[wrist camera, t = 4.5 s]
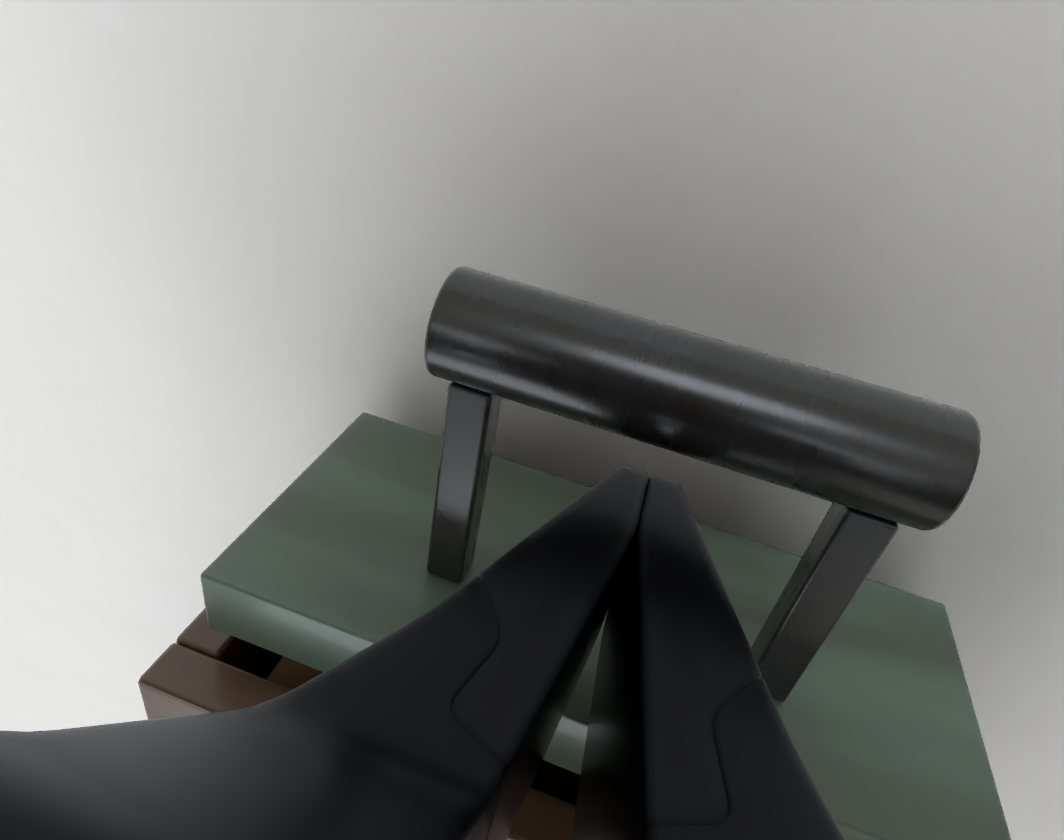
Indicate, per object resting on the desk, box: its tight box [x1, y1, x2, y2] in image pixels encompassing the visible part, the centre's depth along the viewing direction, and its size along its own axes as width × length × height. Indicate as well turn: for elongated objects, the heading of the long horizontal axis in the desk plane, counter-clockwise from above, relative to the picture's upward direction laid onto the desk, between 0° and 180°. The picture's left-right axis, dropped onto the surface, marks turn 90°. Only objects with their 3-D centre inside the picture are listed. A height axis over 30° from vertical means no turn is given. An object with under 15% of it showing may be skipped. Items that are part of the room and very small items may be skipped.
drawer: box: [201, 267, 1011, 840], centre depth 14 cm, size 19×11×5 cm, turn 169°
